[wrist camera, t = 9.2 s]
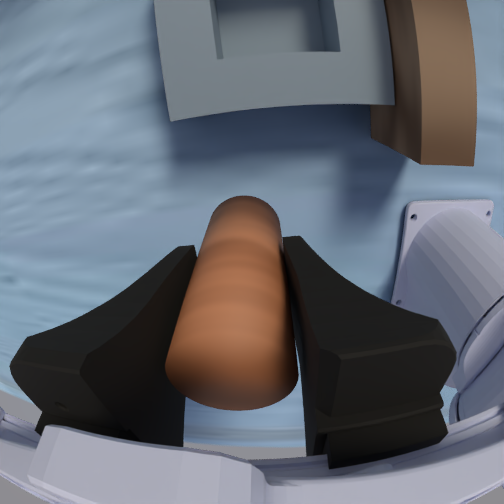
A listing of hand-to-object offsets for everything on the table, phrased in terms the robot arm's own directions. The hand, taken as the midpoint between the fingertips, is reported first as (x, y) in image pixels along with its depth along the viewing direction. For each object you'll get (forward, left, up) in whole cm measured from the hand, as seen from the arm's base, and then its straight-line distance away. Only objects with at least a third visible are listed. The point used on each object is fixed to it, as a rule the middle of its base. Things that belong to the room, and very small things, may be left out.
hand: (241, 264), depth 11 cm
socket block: (+10, -2, -8) cm, 13 cm away
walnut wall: (+11, -9, -7) cm, 16 cm away
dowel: (0, 0, -3) cm, 3 cm away
